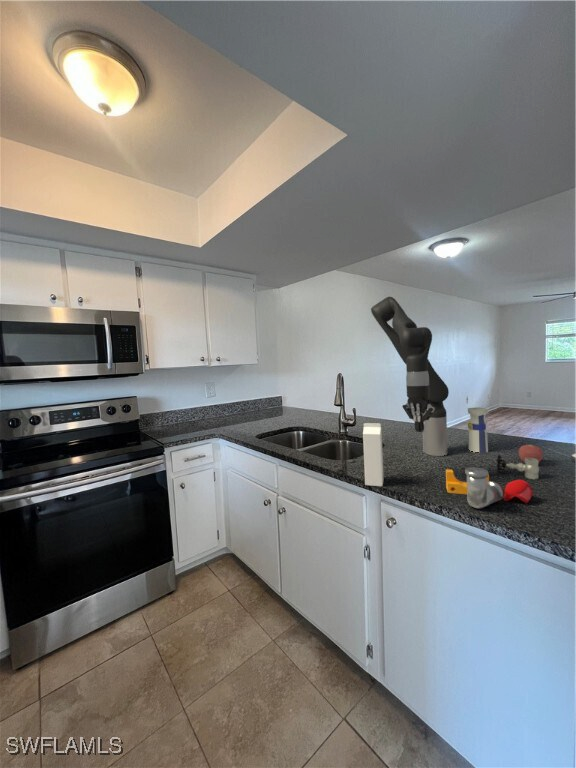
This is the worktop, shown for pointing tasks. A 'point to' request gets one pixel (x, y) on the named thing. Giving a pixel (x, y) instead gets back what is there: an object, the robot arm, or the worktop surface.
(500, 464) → the valve
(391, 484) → the worktop surface
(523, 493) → the cap
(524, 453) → the apple
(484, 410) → the water bottle
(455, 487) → the pipe clamp
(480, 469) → the duct elbow
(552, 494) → the worktop surface
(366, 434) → the milk
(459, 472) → the worktop surface
